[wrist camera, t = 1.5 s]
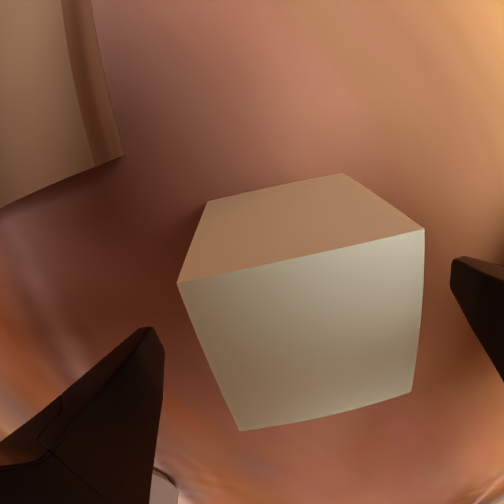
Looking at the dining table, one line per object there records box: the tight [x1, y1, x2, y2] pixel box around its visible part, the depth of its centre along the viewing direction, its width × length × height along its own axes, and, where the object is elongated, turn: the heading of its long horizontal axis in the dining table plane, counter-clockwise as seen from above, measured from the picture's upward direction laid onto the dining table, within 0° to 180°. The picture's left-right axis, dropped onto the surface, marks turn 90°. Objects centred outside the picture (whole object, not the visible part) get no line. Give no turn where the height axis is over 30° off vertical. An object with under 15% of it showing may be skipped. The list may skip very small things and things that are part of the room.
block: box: [176, 173, 425, 431], centre depth 10 cm, size 5×5×6 cm
